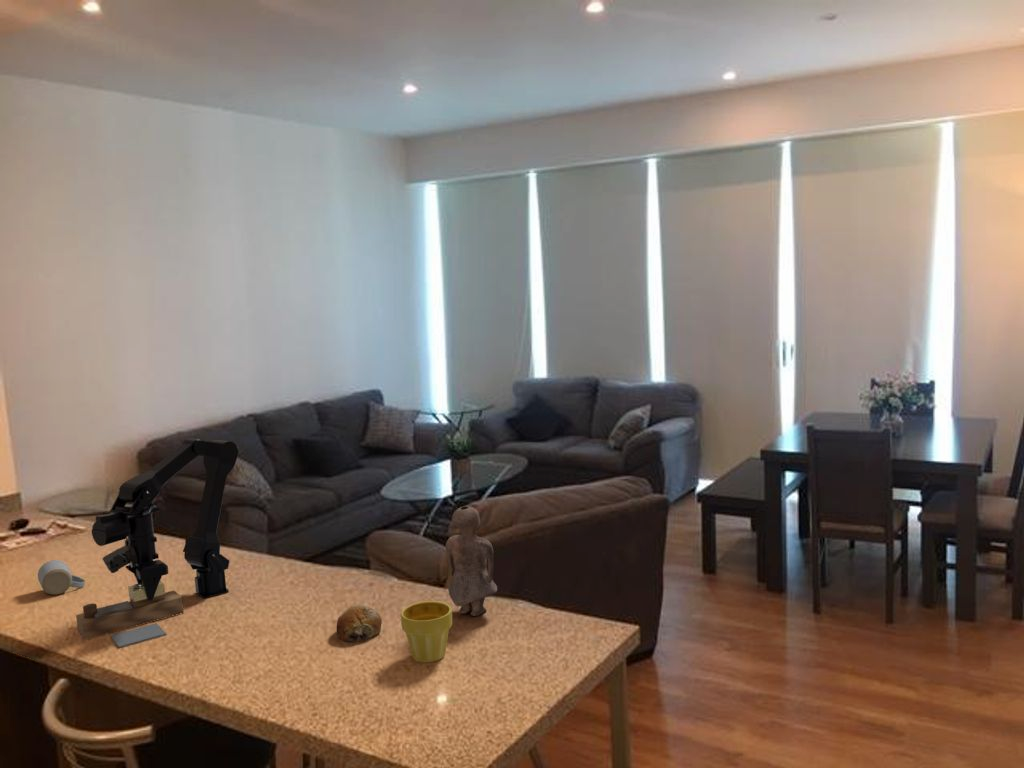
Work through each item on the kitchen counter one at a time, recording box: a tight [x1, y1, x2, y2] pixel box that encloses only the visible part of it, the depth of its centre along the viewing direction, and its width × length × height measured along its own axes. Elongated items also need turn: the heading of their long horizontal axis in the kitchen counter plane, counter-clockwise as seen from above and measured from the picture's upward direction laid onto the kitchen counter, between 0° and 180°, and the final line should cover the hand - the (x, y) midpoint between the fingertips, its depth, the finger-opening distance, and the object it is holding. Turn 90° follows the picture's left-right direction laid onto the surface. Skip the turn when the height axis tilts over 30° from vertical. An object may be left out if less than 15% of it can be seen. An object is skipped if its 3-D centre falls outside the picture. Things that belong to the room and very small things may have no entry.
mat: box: [110, 622, 167, 649], centre depth 194 cm, size 10×8×1 cm
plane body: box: [75, 590, 184, 640], centre depth 202 cm, size 22×6×6 cm, turn 127°
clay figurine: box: [445, 505, 498, 617], centre depth 197 cm, size 13×10×25 cm
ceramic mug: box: [37, 559, 86, 596], centre depth 227 cm, size 11×8×8 cm
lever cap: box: [128, 580, 166, 602], centre depth 204 cm, size 7×5×3 cm, turn 127°
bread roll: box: [336, 604, 383, 642], centre depth 190 cm, size 10×10×8 cm
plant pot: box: [400, 600, 453, 664], centre depth 176 cm, size 10×10×10 cm
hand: (147, 597), depth 204 cm, fingers closed on lever cap, 5 cm apart
